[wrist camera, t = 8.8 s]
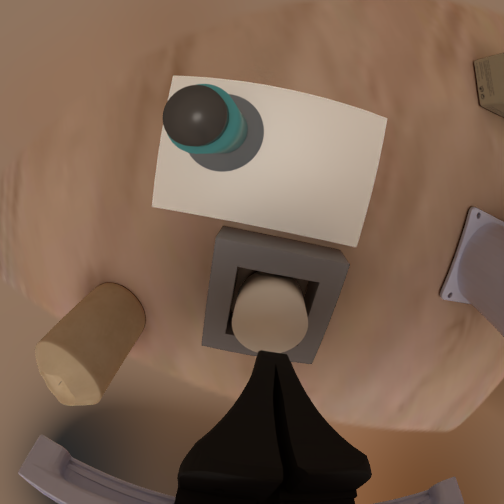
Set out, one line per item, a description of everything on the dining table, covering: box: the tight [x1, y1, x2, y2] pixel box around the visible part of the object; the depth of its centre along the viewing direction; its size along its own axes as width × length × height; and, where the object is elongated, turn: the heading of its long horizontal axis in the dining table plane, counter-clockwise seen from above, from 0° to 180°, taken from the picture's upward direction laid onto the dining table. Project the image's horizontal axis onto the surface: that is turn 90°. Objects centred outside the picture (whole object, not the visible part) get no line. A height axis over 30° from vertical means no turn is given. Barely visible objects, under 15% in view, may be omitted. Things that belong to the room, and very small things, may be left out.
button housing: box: [202, 226, 350, 364], centre depth 18 cm, size 8×8×3 cm
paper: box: [152, 76, 387, 247], centre depth 16 cm, size 14×9×1 cm, turn 79°
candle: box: [35, 283, 145, 406], centre depth 16 cm, size 6×6×10 cm
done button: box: [232, 271, 308, 353], centre depth 17 cm, size 4×4×3 cm
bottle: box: [163, 84, 248, 154], centre depth 12 cm, size 3×3×7 cm
